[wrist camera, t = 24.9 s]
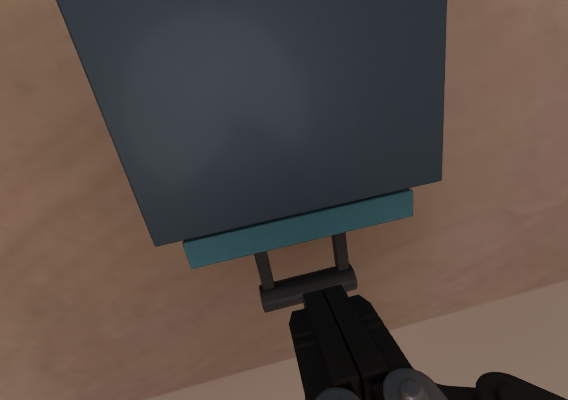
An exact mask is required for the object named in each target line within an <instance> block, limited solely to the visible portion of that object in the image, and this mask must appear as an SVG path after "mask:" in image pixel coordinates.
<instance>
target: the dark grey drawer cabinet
mask: <svg viewBox="0 0 568 400" xmlns="http://www.w3.org/2000/svg"><path fill="white" fill-rule="evenodd" d="M56 1H57V3H58V6H59V8H60V11H61V13H62V16H63V18H64V21H65V23H66V26H67V28H68V31H69V33H70V36H71V38H72V41H73V43H74V46H75V48H76V51H77V53H78V56H79V58H80V61H81V63H82V66H83V68H84V71H85V73H86V76H87V78H88V81H89V83H90V86H91V88H92V91H93V93H94V96H95V98H96V101H97V103H98V106H99V108H100V111H101V113H102V116H103V118H104V121H105V123H106V126H107V128H108V131H109V133H110V136H111V138H112V141H113V143H114V146H115V148H116V151H117V153H118V156H119V158H120V161H121V163H122V166H123V168H124V171H125V173H126V176H127V178H128V181H129V183H130V186H131V188H132V191H133V193H134V196H135V198H136V201H137V203H138V206H139V208H140V210H141V213H142V215H143V218H144V220H145V223H146V225H147V228H148V230H149V233H150V235H151V238H152V240H153V243H154V245H155V246H161V245H165V244H169V243H174V242H178V241H182V240H187V239H191V238H195V237H200V236H204V235H208V234H212V233H217V232H221V231H225V230H230V229H234V228H238V227H243V226H247V225H251V224H256V223H260V222H264V221H269V220H273V219H277V218H282V217H286V216H290V215H295V214H299V213H303V212H308V211H312V210H316V209H321V208H325V207H329V206H334V205H338V204H342V203H347V202H351V201H355V200H360V199H364V198H368V197H373V196H377V195H381V194H386V193H390V192H394V191H399V190H403V189H407V188H412V187H416V186H420V185H425V184H429V183H433V182H438V181H441V180H442V152H443V118H444V83H445V49H446V14H447V0H56Z"/></svg>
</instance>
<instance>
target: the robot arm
mask: <svg viewBox="0 0 568 400" xmlns="http://www.w3.org/2000/svg"><path fill="white" fill-rule="evenodd" d="M302 297H303V302H304V308H305V309H301V310H297V311H293V312H292V314H291V318H290V322H289V326H290V331H291V335H292V340H293V344H294V348H295V353H296V357H297V362H298V366H299V370H300V375H301V380H302V384H303V388H304V392H305V400H567V399H565V398H563V397H560V396H558V395H556V394H554V393H551V392H549V391H547V390H544V389H542V388H540V387H537V386H535V385H533V384H531V383H528V382H526V381H524V380H522V379H519V378H517V377H515V376H512V375H509V374H506V373H501V372H490V373H486V374H483V375H482V376H480V377H479V379H478V380H477V382H476V388H471V387H456V386H445V385H440V384H437V383H434V382H433V380H432V379H430V378H429V377H428V376H427V375H425V374H424V373H422V372H420V371H417V370H414V369H413V367H412V366H411V365H410V363H409V362H408V360H407V359H406V357H405V356H404V354H403V352H402V351H401V349H400V348H399V346H398V345H397V343H396V342H395V340H394V339H393V337H392V336H391V334H390V333H389V331H388V329H387V328H386V326H384V323H383V322H382V320H381V319H380V317H378V314H377V312H376V311H375V309H374V308H373V306H372V305H371V303H370V302H368V301H367V300H366V299H364V298H363V297H361V296H360V295H355V296H351V297H348V295H347V293H346V292H345V290H344V288H343V286H342V285H341V284H339V285H335V286H331V287H327V288H323V289H322V290H321V289H319V290H315V291H311V292H307V293H303V294H302Z"/></svg>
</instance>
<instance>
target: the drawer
mask: <svg viewBox="0 0 568 400" xmlns="http://www.w3.org/2000/svg"><path fill="white" fill-rule="evenodd" d="M410 216H413V191H412V190H411V189H409V188H407V189H403V190H399V191H394V192H390V193H386V194H381V195H377V196H373V197H368V198H364V199H360V200H355V201H351V202H347V203H342V204H338V205H334V206H329V207H325V208H321V209H316V210H312V211H308V212H303V213H299V214H295V215H290V216H286V217H282V218H277V219H273V220H269V221H264V222H260V223H256V224H251V225H247V226H243V227H238V228H234V229H230V230H225V231H221V232H217V233H212V234H208V235H204V236H200V237H195V238H191V239H187V240H184V241H183V247H184V250H185V253H186V255H187V258H188V261H189V264H190V266H191V268H192V269H194V268H198V267H202V266H206V265H210V264H214V263H219V262H223V261H227V260H231V259H235V258H239V257H244V256H248V255H252V254H254V255H255V259H256V263H257V267H258V271H259V275H260V279H261V283H262V285H260V286H259V289H260V296H261V301H262V305H263V309H264V312H265V313H266V312H270V311H274V310H278V309H282V308H285V307H289V306H293V305H297V304H301V303H304V302H303V297H302V294H303V293H307V292H311V291H315V290H319V289H321V290H322V289H323V288H327V287H331V286H335V285H339V284H341V285H342V286H343V288H344V290H345V292H347V291H351V290H355V289H357V279H356V275H355V272H354V270H353V268H352V266H351V265H350V264H349V261H348V252H347V243H346V234H345V232H348V231H352V230H356V229H360V228H364V227H368V226H373V225H377V224H381V223H385V222H389V221H393V220H398V219H402V218H406V217H410ZM327 236H332V244H333V251H334V259H335V265H336V266H335V267H331V268H327V269H323V270H319V271H315V272H311V273H307V274H303V275H299V276H295V277H291V278H287V279H283V280H279V281H275V282H274V280H273V276H272V272H271V268H270V263H269V259H268V255H267V251H269V250H273V249H277V248H281V247H285V246H289V245H293V244H298V243H302V242H306V241H310V240H314V239H318V238H323V237H327Z"/></svg>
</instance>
